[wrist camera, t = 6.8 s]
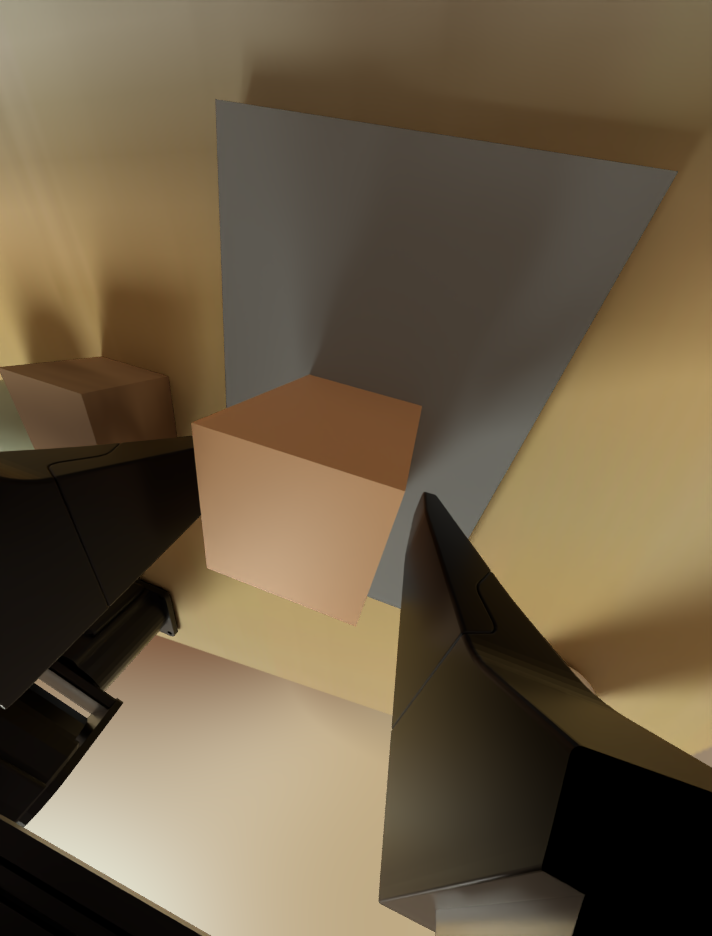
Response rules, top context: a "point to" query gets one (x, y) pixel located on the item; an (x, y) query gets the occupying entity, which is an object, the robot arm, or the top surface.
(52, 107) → the top surface
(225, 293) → the slate mat
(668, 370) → the top surface
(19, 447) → the sage cylinder
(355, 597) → the terracotta block
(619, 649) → the top surface
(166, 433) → the walnut block
